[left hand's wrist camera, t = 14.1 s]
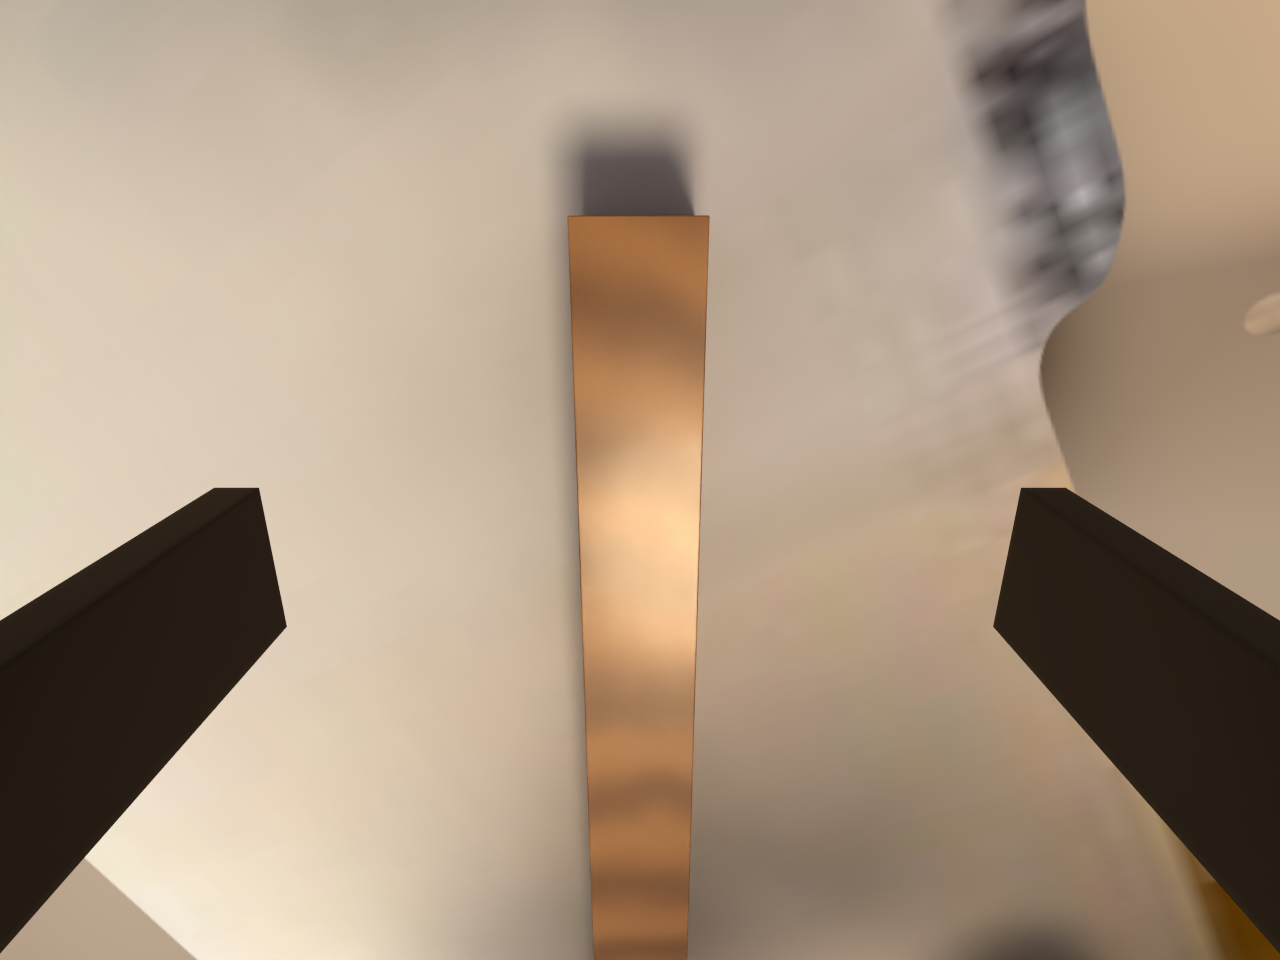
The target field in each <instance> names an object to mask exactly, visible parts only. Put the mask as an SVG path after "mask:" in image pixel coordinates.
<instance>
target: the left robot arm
mask: <svg viewBox="0 0 1280 960" xmlns="http://www.w3.org/2000/svg"><path fill="white" fill-rule="evenodd" d="M286 627H287V625H286V620H285V615H284V610H283V605H282V600H281V595H280V591H279V586H278V581H277V576H276V571H275V566H274V561H273V556H272V551H271V546H270V541H269V536H268V531H267V526H266V521H265V516H264V511H263V506H262V501H261V496H260V491H259V488H213V489H212V490H210V491H209V492H207V493H205V494H204V495H202V496H200V497H199V498H197V499H196V500H194V501H192V502H191V503H189V504H188V505H186V506H184V507H183V508H181V509H179V510H178V511H176V512H175V513H173V514H171V515H170V516H168V517H167V518H165V519H163V520H162V521H160V522H159V523H157V524H155V525H154V526H152V527H150V528H149V529H147V530H146V531H144V532H142V533H141V534H139V535H138V536H136V537H134V538H133V539H131V540H130V541H128V542H126V543H125V544H123V545H121V546H120V547H118V548H117V549H115V550H113V551H112V552H110V553H109V554H107V555H105V556H104V557H102V558H101V559H99V560H97V561H96V562H94V563H92V564H91V565H89V566H88V567H86V568H84V569H83V570H81V571H80V572H78V573H76V574H75V575H73V576H72V577H70V578H68V579H67V580H65V581H63V582H62V583H60V584H59V585H57V586H55V587H54V588H52V589H51V590H49V591H47V592H46V593H44V594H42V595H41V596H39V597H38V598H36V599H34V600H33V601H31V602H30V603H28V604H26V605H25V606H23V607H22V608H20V609H18V610H17V611H15V612H13V613H12V614H10V615H9V616H7V617H5V618H4V619H2V620H1V621H0V953H1V952H2V951H3V950H4V948H5V947H6V946H7V945H8V944H9V943H10V942H11V940H12V939H13V938H14V937H15V936H16V935H17V934H18V933H19V931H20V930H21V929H22V928H23V927H24V926H25V924H26V923H27V922H28V921H29V920H30V919H31V918H32V917H33V915H34V914H35V913H36V912H37V911H38V910H39V909H40V907H41V906H42V905H43V904H44V903H45V902H46V901H47V899H48V898H49V897H50V896H51V895H52V894H53V893H54V891H55V890H56V889H57V888H58V887H59V886H60V885H61V883H62V882H63V881H64V880H65V879H66V878H67V877H68V875H69V874H70V873H71V872H72V871H73V870H74V869H75V867H76V866H77V865H78V864H79V863H80V862H81V861H82V860H83V858H84V857H85V856H86V855H87V854H88V853H89V852H90V850H91V849H92V848H93V847H94V846H95V845H96V844H97V842H98V841H99V840H100V839H101V838H102V837H103V836H104V834H105V833H106V832H107V831H108V830H109V829H110V828H111V826H112V825H113V824H114V823H115V822H116V821H117V820H118V818H119V817H120V816H121V815H122V814H123V813H124V812H125V810H126V809H127V808H128V807H129V806H130V805H131V804H132V803H133V801H134V800H135V799H136V798H137V797H138V796H139V795H140V793H141V792H142V791H143V790H144V789H145V788H146V787H147V785H148V784H149V783H150V782H151V781H152V780H153V779H154V777H155V776H156V775H157V774H158V773H159V772H160V771H161V769H162V768H163V767H164V766H165V765H166V764H167V763H168V761H169V760H170V759H171V758H172V757H173V756H174V755H175V753H176V752H177V751H178V750H179V749H180V748H181V747H182V745H183V744H184V743H185V742H186V741H187V740H188V739H189V738H190V736H191V735H192V734H193V733H194V732H195V731H196V730H197V728H198V727H199V726H200V725H201V724H202V723H203V722H204V720H205V719H206V718H207V717H208V716H209V715H210V714H211V712H212V711H213V710H214V709H215V708H216V707H217V706H218V704H219V703H220V702H221V701H222V700H223V699H224V698H225V696H226V695H227V694H228V693H229V692H230V691H231V690H232V688H233V687H234V686H235V685H236V684H237V683H238V682H239V680H240V679H241V678H242V677H243V676H244V675H245V674H246V673H247V671H248V670H249V669H250V668H251V667H252V666H253V665H254V663H255V662H256V661H257V660H258V659H259V658H260V657H261V655H262V654H263V653H264V652H265V651H266V650H267V649H268V647H269V646H270V645H271V644H272V643H273V642H274V641H275V639H276V638H277V637H278V636H279V635H280V634H281V633H282V631H283V630H284V629H285V628H286ZM993 627H994V628H995V629H996V630H997V631H998V633H999V634H1000V635H1001V636H1002V637H1003V638H1004V639H1005V641H1006V642H1007V643H1008V644H1009V645H1010V646H1011V647H1012V649H1013V650H1014V651H1015V652H1016V653H1017V654H1018V655H1019V657H1020V658H1021V659H1022V660H1023V661H1024V662H1025V663H1026V665H1027V666H1028V667H1029V668H1030V669H1031V670H1032V671H1033V673H1034V674H1035V675H1036V676H1037V677H1038V678H1039V679H1040V680H1041V682H1042V683H1043V684H1044V685H1045V686H1046V687H1047V688H1048V690H1049V691H1050V692H1051V693H1052V694H1053V695H1054V696H1055V698H1056V699H1057V700H1058V701H1059V702H1060V703H1061V704H1062V706H1063V707H1064V708H1065V709H1066V710H1067V711H1068V712H1069V714H1070V715H1071V716H1072V717H1073V718H1074V719H1075V720H1076V722H1077V723H1078V724H1079V725H1080V726H1081V727H1082V728H1083V730H1084V731H1085V732H1086V733H1087V734H1088V735H1089V736H1090V738H1091V739H1092V740H1093V741H1094V742H1095V743H1096V744H1097V745H1098V747H1099V748H1100V749H1101V750H1102V751H1103V752H1104V753H1105V755H1106V756H1107V757H1108V758H1109V759H1110V760H1111V761H1112V763H1113V764H1114V765H1115V766H1116V767H1117V768H1118V769H1119V771H1120V772H1121V773H1122V774H1123V775H1124V776H1125V777H1126V779H1127V780H1128V781H1129V782H1130V783H1131V784H1132V785H1133V787H1134V788H1135V789H1136V790H1137V791H1138V792H1139V793H1140V795H1141V796H1142V797H1143V798H1144V799H1145V800H1146V801H1147V803H1148V804H1149V805H1150V806H1151V807H1152V808H1153V809H1154V810H1155V812H1156V813H1157V814H1158V815H1159V816H1160V817H1161V818H1162V820H1163V821H1164V822H1165V823H1166V824H1167V825H1168V826H1169V828H1170V829H1171V830H1172V831H1173V832H1174V833H1175V834H1176V836H1177V837H1178V838H1179V839H1180V840H1181V841H1182V842H1183V844H1184V845H1185V846H1186V847H1187V848H1188V849H1189V850H1190V852H1191V853H1192V854H1193V855H1194V856H1195V857H1196V858H1197V860H1198V861H1199V862H1200V863H1201V864H1202V865H1203V866H1204V868H1205V869H1206V870H1207V871H1208V872H1209V873H1210V874H1211V875H1212V877H1213V878H1214V879H1215V880H1216V881H1217V882H1218V883H1219V885H1220V886H1221V887H1222V888H1223V889H1224V890H1225V891H1226V893H1227V894H1228V895H1229V896H1230V897H1231V898H1232V899H1233V901H1234V902H1235V903H1236V904H1237V905H1238V906H1239V907H1240V909H1241V910H1242V911H1243V912H1244V913H1245V914H1246V915H1247V917H1248V918H1249V919H1250V920H1251V921H1252V922H1253V923H1254V925H1255V926H1256V927H1257V928H1258V929H1259V930H1260V931H1261V933H1262V934H1263V935H1264V936H1265V937H1266V938H1267V939H1268V940H1269V942H1270V943H1271V944H1272V945H1273V946H1274V947H1275V948H1276V950H1277V951H1278V952H1279V953H1280V621H1279V620H1278V619H1276V618H1275V617H1273V616H1271V615H1270V614H1268V613H1266V612H1265V611H1263V610H1262V609H1260V608H1258V607H1257V606H1255V605H1254V604H1252V603H1250V602H1249V601H1247V600H1246V599H1244V598H1242V597H1241V596H1239V595H1237V594H1236V593H1234V592H1233V591H1231V590H1229V589H1228V588H1226V587H1225V586H1223V585H1221V584H1220V583H1218V582H1217V581H1215V580H1213V579H1212V578H1210V577H1208V576H1207V575H1205V574H1204V573H1202V572H1200V571H1199V570H1197V569H1196V568H1194V567H1192V566H1191V565H1189V564H1188V563H1186V562H1184V561H1183V560H1181V559H1179V558H1178V557H1176V556H1175V555H1173V554H1171V553H1170V552H1168V551H1167V550H1165V549H1163V548H1162V547H1160V546H1158V545H1157V544H1155V543H1154V542H1152V541H1150V540H1149V539H1147V538H1146V537H1144V536H1142V535H1141V534H1139V533H1138V532H1136V531H1134V530H1133V529H1131V528H1129V527H1128V526H1126V525H1125V524H1123V523H1121V522H1120V521H1118V520H1117V519H1115V518H1113V517H1112V516H1110V515H1109V514H1107V513H1105V512H1104V511H1102V510H1100V509H1099V508H1097V507H1096V506H1094V505H1092V504H1091V503H1089V502H1088V501H1086V500H1084V499H1083V498H1081V497H1080V496H1078V495H1076V494H1075V493H1073V492H1071V491H1070V490H1068V489H1067V488H1021V491H1020V496H1019V501H1018V506H1017V511H1016V516H1015V521H1014V526H1013V531H1012V536H1011V541H1010V546H1009V551H1008V556H1007V561H1006V566H1005V571H1004V576H1003V581H1002V586H1001V591H1000V595H999V600H998V605H997V610H996V615H995V620H994V625H993Z"/></svg>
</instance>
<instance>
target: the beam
mask: <svg viewBox="0 0 1280 960" xmlns="http://www.w3.org/2000/svg"><path fill="white" fill-rule="evenodd" d="M568 239H569V267H570V296H571V324H572V353H573V382H574V410H575V439H576V467H577V496H578V524H579V553H580V581H581V610H582V638H583V667H584V695H585V724H586V752H587V781H588V809H589V838H590V866H591V895H592V923H593V952H594V960H687V939H688V906H689V873H690V840H691V808H692V775H693V742H694V709H695V676H696V643H697V610H698V577H699V544H700V511H701V478H702V445H703V412H704V379H705V346H706V313H707V280H708V247H709V216H568Z"/></svg>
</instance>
